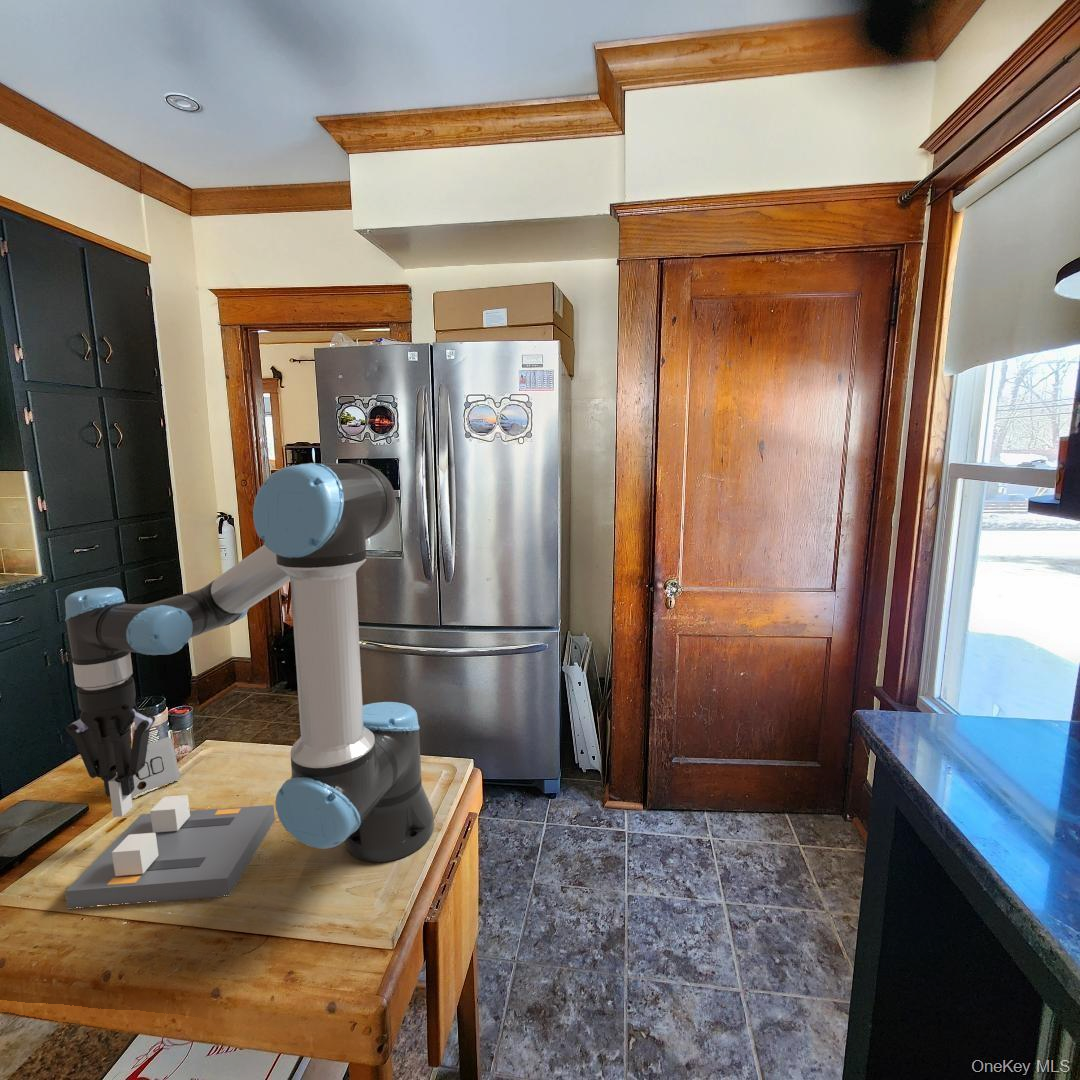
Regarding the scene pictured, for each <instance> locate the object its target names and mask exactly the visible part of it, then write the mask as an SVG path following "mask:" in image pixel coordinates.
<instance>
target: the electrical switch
mask: <svg viewBox="0 0 1080 1080" xmlns="http://www.w3.org/2000/svg"><path fill="white" fill-rule="evenodd" d="M180 778H181V774H180V769H179V766H178V760H177V755H176V751H175V746H174V742H173V738H171V737H169V736H167V737H163V738H161V739H158V740H155V741H152V742H148V746H147V753H146V760H145V766H144V767H143V768H142V769H141V770H140V771H139V772H137V773H136V774H135V775H133V779H134V787H135V788H134V791H133V792H132V793H131V798H133V797H134V796H136V795H137V794H140V793H142V792H145V791H147V790H150V789H153V788H156V787H160V786H163V785H165V784H169V783H172V782H174V781H176V780H178V781H179V780H180ZM141 783H142V785H141V787H140V784H141ZM174 783H175V782H174ZM172 784H173V783H172ZM169 785H170V784H169Z"/></svg>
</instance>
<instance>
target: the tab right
mask: <svg viewBox="0 0 1080 1080" xmlns="http://www.w3.org/2000/svg"><path fill="white" fill-rule="evenodd" d="M189 802H190V801H189V796H188V795H187V794H184V795H171V796H167V795H166V796H163V797H162V798H161V799H160V800H159V801H158V802H157V803H156V804H155V805H154V807H152V808H151V809H150V810H149V812H150V813H149V814H151V822H152V829H153V833H154V832H167V831H178V830H179V829H180V827H181V826H182V825H183V824H184V823H185V821H186V820H187V819H188V818H189V817H190V811H191V810H190V804H189Z"/></svg>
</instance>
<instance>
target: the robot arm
mask: <svg viewBox="0 0 1080 1080" xmlns="http://www.w3.org/2000/svg"><path fill="white" fill-rule="evenodd" d="M396 505H397V504H396V494H395V490H394V488H393V486H392V483H391V482H390V480H389V479H388V478H387V477H386V476H385V475H384V473H382V472H381V471H380V470H378V469H377V468H375V467H373V466H371V465H368V464H364V463H360V462H346V463H344V462H343V463H341V462H340V463H336V462H335V463H314V462H308V463H300V464H296V465H295V464H294V465H289V466H285V467H282V468H280V469H278V470H276V471H274V472H273V473H272V474H270V475H269V477H268V478H267V479H266V480H265V482H263V483H262V484H261V485H260V487H259V488H258V491H257V492H256V496H255V499H254V503H253V508H252V509H253V510H252V517H253V525H254V529H255V532H256V534H257V536H258V538H259V539H262V540H263V541H264V542H263V545H262V546H260V547H258V548H257V549H256V550H254V552H252V553H250V554H249V555H248V556H246V557H245V558H243V559H242V560H241V561H239V562H238V563H236V564H235V565H233V566H231V568H229V569H228V570H226V571H225V572H223V573H222V574H220V575H219V576H217V577H216V578H215V579H214V580H211V582H209V583H208V584H207V585H205V586H203V587H202V588H200V589H197V590H194V591H189V592H187V593H184V594H179V595H177V596H172V597H169V598H165V599H161V600H158V601H154V602H151V603H146V604H139V603H138V604H136V603H135V604H133V603H126V599H125V597H124V594H123V591H122V589H120V588H118V587H113V586H111V587H109V586H108V587H107V586H105V587H94V588H89V589H83V590H78V591H74V592H73V593H71V594H68V595H67V597H66V598H65V600H64V607H65V619H64V622H65V624H66V629H67V634H68V635H67V636H68V641H69V648H70V654H71V658H72V668H73V676H74V684H75V685H76V687H78V688H77V689H76V695H77V703H78V708H79V711H80V710H81V712H80V714H79V719H76V720H75V721H74V722H72V723H70V724H68V725H67V726H65V731H66V733H67V734H68V735H69V736H70V737H71V738H72V739H73V741H74V743H75V745H76V748H77V750H78V753H79V755H80V757H81V760H82V762H83V764H84V767H85V769H86V771H87V774H88V775H89V777H90V778H92V779H95V778H100V779H101V780H102V781H103V787H104V791H105V796H106V797H107V798H109V797H110V798H109V799H110V804H111V810H112V811H111V812H112V817H113V818H116V817H117V818H119V817H123V816H125V815H126V814H127V813H128V812H129V811H130V810H131V809H132V808H133V800H132V798H131V793H132V792H133V791H134V788H135V787H134V779H133V775H135V774H136V773H137V772H139V771H140V770H141V769H142V768H143V767H144V766H145V760H146V753H147V746H148V744H149V738H150V732H151V728H152V726H153V725H154V723H155V721H156V718H155V716H154V715H149V716H146V715H143V714H141V713H140V710H139V707H138V706H137V705H136V697H137V694H136V683H135V678H134V677H133V673H134V672H133V664H132V657H131V653H135V654H136V653H137V654H141V655H146V656H149V655H150V656H158V655H163V656H165V655H173V654H175V653H177V652H179V651H181V650H182V648H183V647H184V646H185V645H186V644H188V642H190V639H192V638H194V637H196V636H199V635H201V634H205V633H207V632H210V631H212V630H216V629H218V628H221V627H225V626H230V625H231V624H233V623H235V622H237V621H239V620H241V619H243V618H244V617H246V615H247V614H248V612H249V609H250V608H252V607H254V606H255V605H257V604H258V603H259V602H261V601H262V600H263V599H266V598H267V597H268V596H270V595H272V594H273V593H275V592H276V591H278V590H279V589H280V588H282V587H283V586H285V585H287V584H288V583H290V592H291V593H290V594H291V610H292V625H293V639H294V641H293V642H294V653H295V666H296V667H295V668H296V669H295V670H296V682H297V683H296V684H297V699H298V710H299V711H298V713H299V714H298V715H299V726H300V727H299V728H300V737H299V738H298V739H297V740H296V741H295V742H294V743H293V745H292V747H291V749H290V754H289V755H290V766H291V767H290V768H291V777H290V778H288V779H287V780H285V781H284V783H283V784H282V785H281V787H280V789H278V791H277V793H276V796H275V803H274V804H275V811H276V815H277V817H278V819H279V821H280V823H281V825H282V826H283V828H284V829H285V831H287V833H289V834H290V835H292V837H293V838H294V839H296V840H297V841H298V842H299V843H301V844H303V845H306V846H308V847H311V848H313V849H314V848H315V849H322V850H323V849H326V850H328V849H332V848H334V847H337V846H339V845H341V844H343V843H344V842H345V846H346V849H347V851H348V852H349V854H351V856H353V857H354V858H357V859H359V860H361V861H364V862H365V861H366V862H371V863H384V862H390V861H395V860H398V859H402V858H405V857H407V856H409V855H411V854H412V853H415V852H416V851H418V850H419V849H420V848H422V847H423V846H424V845H425V844H427V842H428V841H429V840H430V839H431V837H432V835H433V832H434V829H435V820H434V810H433V807H432V806H431V803H430V801H429V798H428V795H427V793H426V791H425V789H424V787H423V784H422V768H421V767H422V765H421V764H422V763H421V761H422V760H421V743H420V725H419V718H418V712H417V711H416V710H415V708H413V707H412V706H411V705H409V704H406V703H403V702H402V703H401V702H398V701H395V702H394V701H382V702H381V701H379V702H372V703H367V704H363V690H362V671H361V670H362V667H361V651H360V650H361V649H360V630H359V629H360V628H359V611H358V606H359V605H358V589H357V588H358V587H357V586H358V585H357V571H358V570H359V568H360V567H362V565H364V564H365V562H366V561H367V544H366V543H367V542H366V541H367V540H368V539H369V538H371V537H374V536H376V535H378V534H379V533H381V532H382V531H384V529H385V528H386V527H388V525H389V524H390V523H391V521H392V519H393V517H394V514H395V511H396ZM132 725H134V726H133V730H135V731H134V734H133V738H132V743H131V734H132Z"/></svg>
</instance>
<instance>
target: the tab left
mask: <svg viewBox="0 0 1080 1080" xmlns="http://www.w3.org/2000/svg"><path fill="white" fill-rule="evenodd" d="M158 856H159V855H158V847H157V840H156V833H144V834H130V835H128V836H127V837H126V838H125V839H124V840H123V841H122V842H121V843H120V844H119V845H118V846H117V847H116V848H115V849H114V851H113V852H112V857H113V864H114V870H115V876H123V875H135V874H143V873H144V872H145V871H146V870H147V869H148V867H149V866H150V865H151V864H152V863H153V861H154V860H155V859H156V858H157V857H158Z"/></svg>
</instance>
